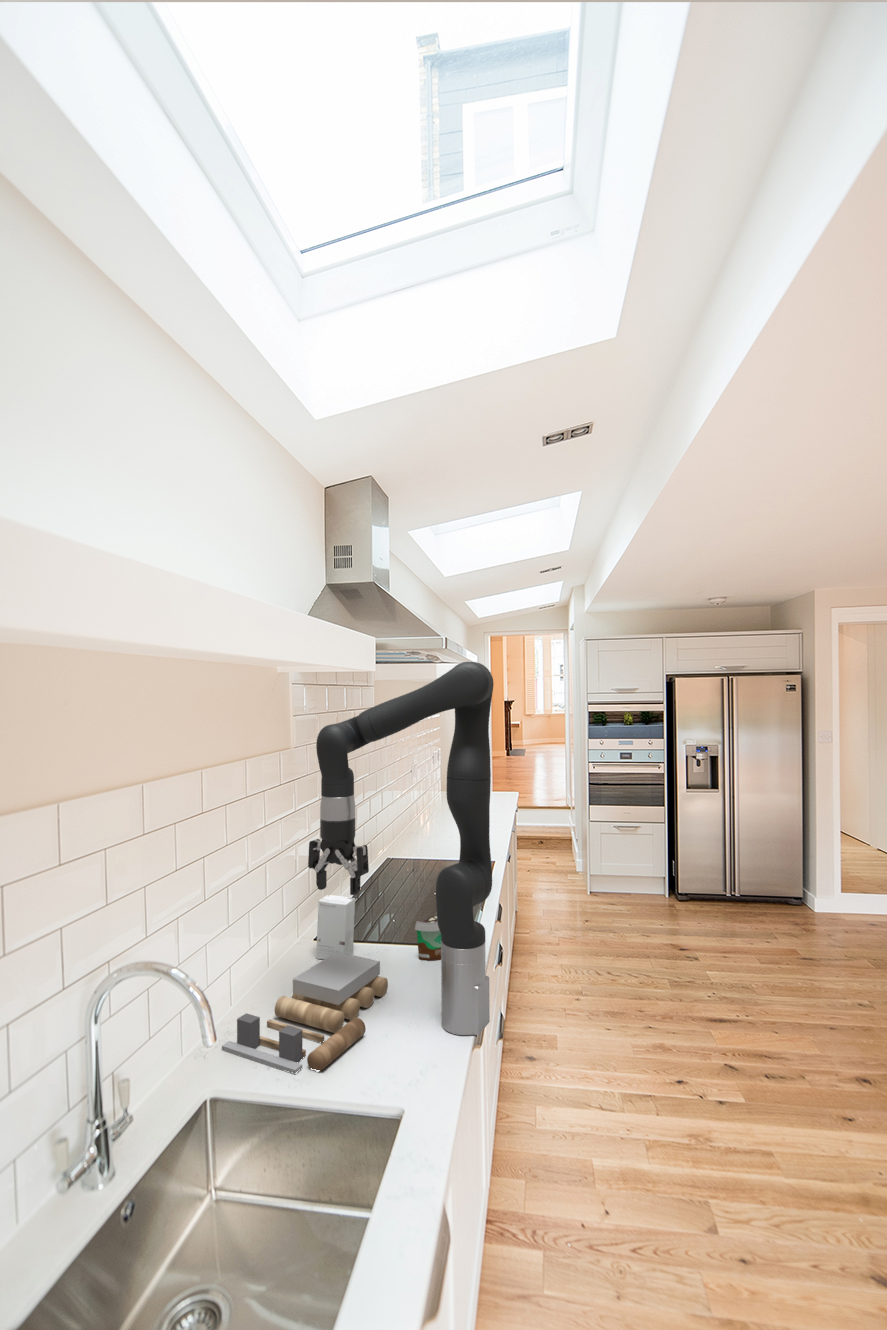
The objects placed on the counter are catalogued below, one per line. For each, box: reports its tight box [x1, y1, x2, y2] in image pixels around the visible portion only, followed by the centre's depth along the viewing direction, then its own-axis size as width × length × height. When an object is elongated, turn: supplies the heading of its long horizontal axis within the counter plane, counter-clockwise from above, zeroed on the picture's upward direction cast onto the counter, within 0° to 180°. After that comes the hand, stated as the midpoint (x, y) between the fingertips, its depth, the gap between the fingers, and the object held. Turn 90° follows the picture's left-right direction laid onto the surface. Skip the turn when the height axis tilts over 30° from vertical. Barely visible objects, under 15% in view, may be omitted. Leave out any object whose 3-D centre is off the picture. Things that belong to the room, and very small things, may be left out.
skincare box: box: [315, 894, 356, 960], centre depth 173 cm, size 8×6×15 cm
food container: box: [414, 914, 441, 962], centre depth 173 cm, size 12×6×10 cm, turn 143°
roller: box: [306, 1016, 367, 1072], centre depth 129 cm, size 14×4×4 cm, turn 153°
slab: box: [292, 952, 381, 1005], centre depth 148 cm, size 12×16×3 cm
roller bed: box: [260, 975, 389, 1059], centre depth 143 cm, size 15×30×4 cm, turn 153°
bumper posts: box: [221, 1012, 303, 1073], centre depth 127 cm, size 18×4×6 cm, turn 63°
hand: (338, 891), depth 144 cm, fingers open, 8 cm apart
